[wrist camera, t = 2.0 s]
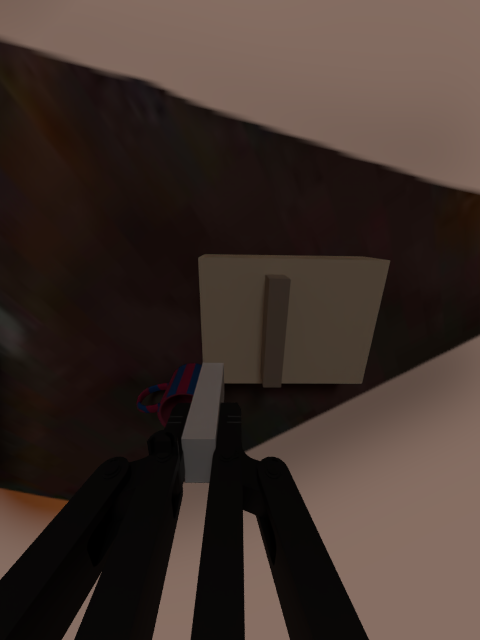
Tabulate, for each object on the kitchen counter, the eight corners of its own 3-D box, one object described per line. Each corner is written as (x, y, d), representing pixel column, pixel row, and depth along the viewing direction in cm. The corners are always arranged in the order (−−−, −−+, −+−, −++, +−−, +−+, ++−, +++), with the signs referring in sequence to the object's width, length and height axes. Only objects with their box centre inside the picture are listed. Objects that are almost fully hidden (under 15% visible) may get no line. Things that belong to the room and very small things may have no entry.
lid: (204, 380, 29) (200, 399, 26) (199, 257, 24) (193, 260, 21) (359, 380, 30) (375, 399, 26) (386, 260, 24) (411, 263, 21)
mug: (212, 402, 36) (207, 438, 30) (148, 394, 35) (129, 428, 29) (218, 366, 34) (214, 396, 28) (150, 356, 33) (130, 385, 27)
